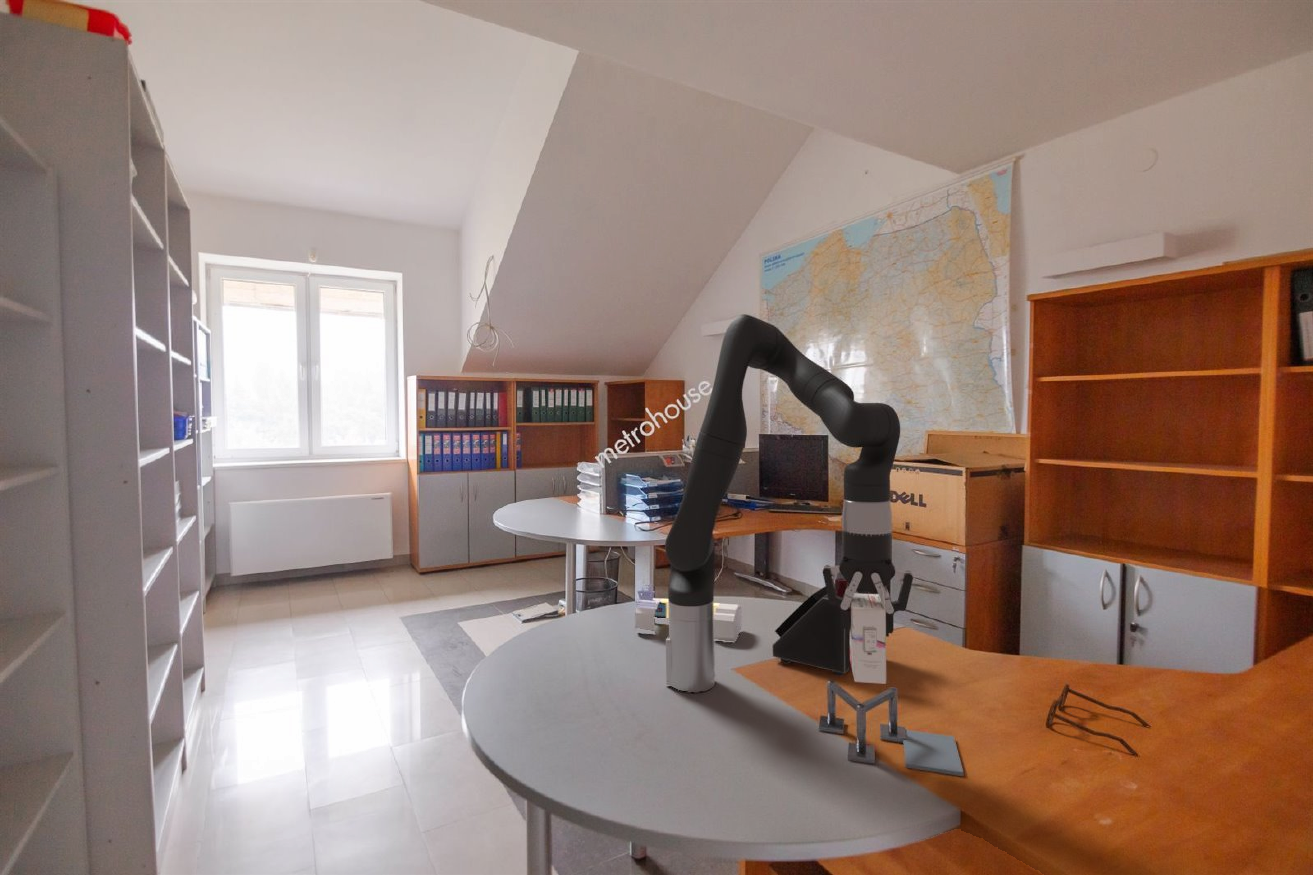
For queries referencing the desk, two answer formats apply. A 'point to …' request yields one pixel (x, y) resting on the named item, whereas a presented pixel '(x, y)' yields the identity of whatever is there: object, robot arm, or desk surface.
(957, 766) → the pad
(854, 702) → the grey metal legged frame
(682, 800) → the desk surface
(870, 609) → the ink cartridge box
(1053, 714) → the glasses
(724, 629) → the diorama
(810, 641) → the voltmeter
